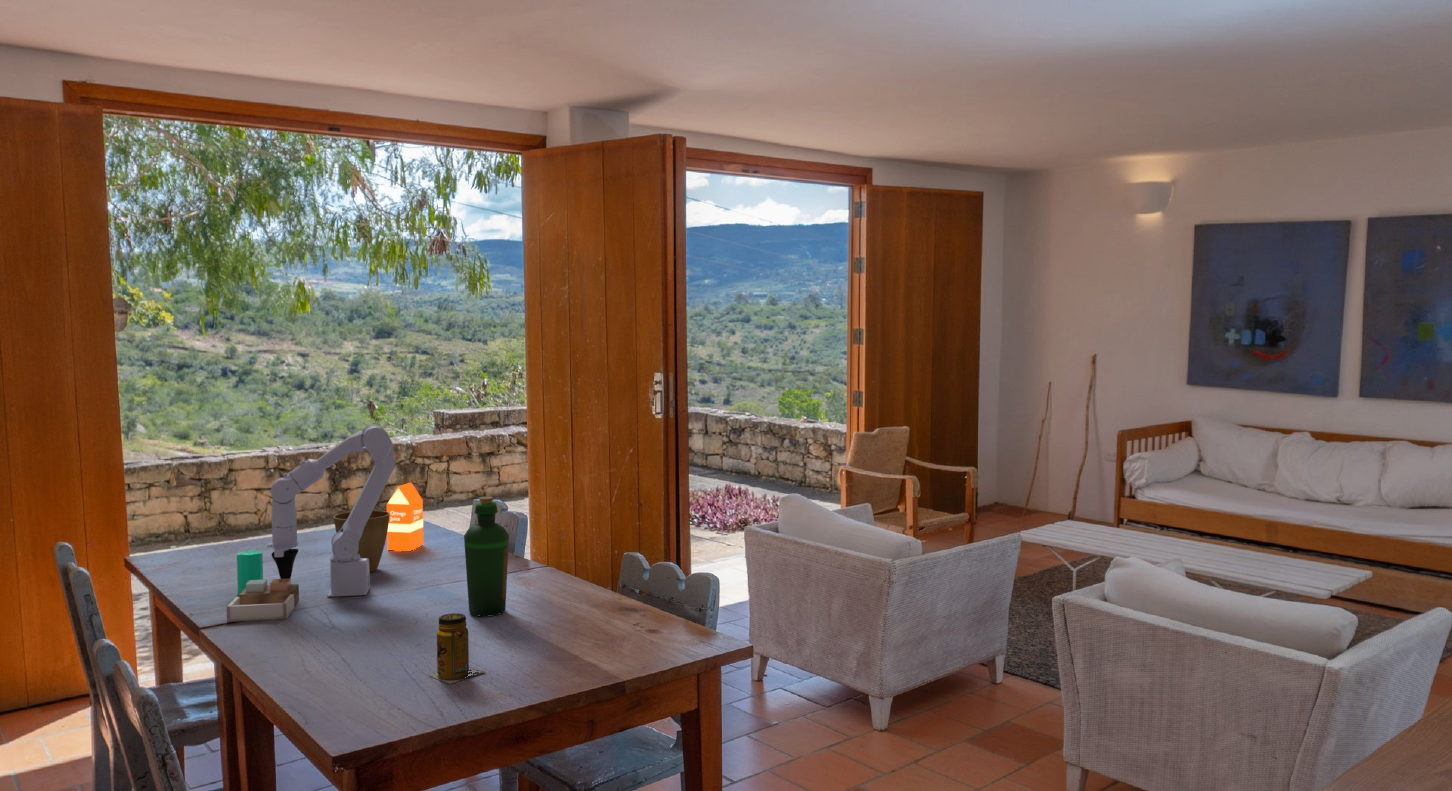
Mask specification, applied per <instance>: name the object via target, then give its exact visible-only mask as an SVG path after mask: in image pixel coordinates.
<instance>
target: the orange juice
mask: <svg viewBox="0 0 1452 791" xmlns="http://www.w3.org/2000/svg"><path fill="white" fill-rule="evenodd" d="M423 501H424V499H423V498H422V497H421V495H420V494H419V492H418V490H417V489H416V488H415V486H414V485H413V482H411V481H410V482H407V483H404V484H400V485H398V486H397V488H396V489H395V491H394V493H393V494H392V495H391V497H390V499H389V500H388V502H386V512H389V513H390V517H389V524H388V531H387V536H386V542H387V543H386V544H387V545H386V546H387V550H394V551H393V552H401V551H411V550H413V551H415V550H417V549H416V548H417V547H420V546H421V545H423V546H424V506H423V504H424V503H423ZM420 548H421V547H420ZM414 549H415V550H414ZM411 552H412V551H411Z"/></svg>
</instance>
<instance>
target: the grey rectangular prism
mask: <svg viewBox="0 0 1452 791" xmlns="http://www.w3.org/2000/svg"><path fill="white" fill-rule="evenodd" d="M267 585H268V579H263V580H249V581H248V582H247V583H246V592H264V591H265V589H266V588H267Z"/></svg>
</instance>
